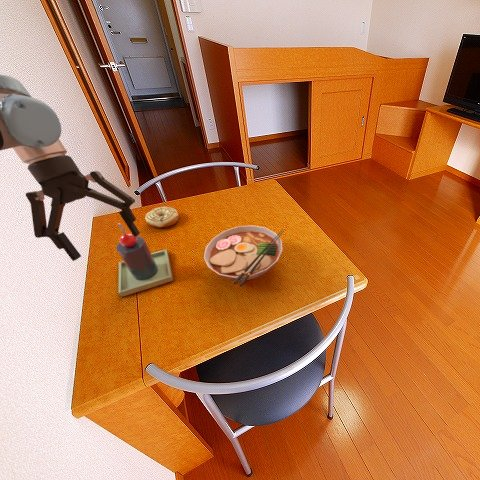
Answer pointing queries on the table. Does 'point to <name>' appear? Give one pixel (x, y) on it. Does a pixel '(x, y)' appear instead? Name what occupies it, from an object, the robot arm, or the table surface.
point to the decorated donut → (162, 217)
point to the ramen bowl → (243, 252)
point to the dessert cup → (136, 256)
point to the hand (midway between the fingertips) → (108, 246)
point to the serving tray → (132, 285)
